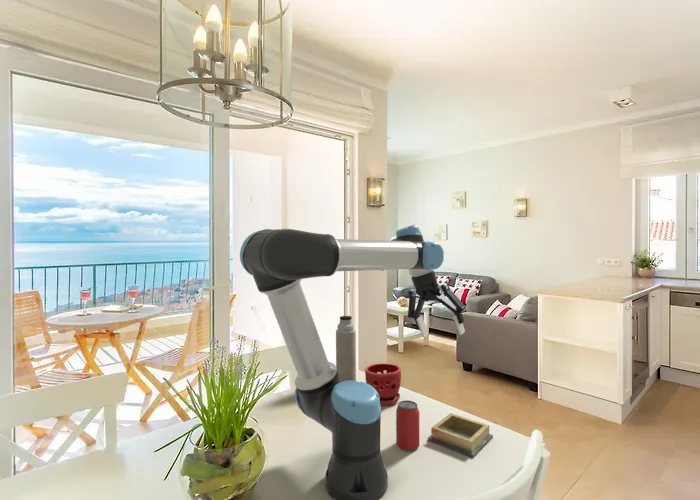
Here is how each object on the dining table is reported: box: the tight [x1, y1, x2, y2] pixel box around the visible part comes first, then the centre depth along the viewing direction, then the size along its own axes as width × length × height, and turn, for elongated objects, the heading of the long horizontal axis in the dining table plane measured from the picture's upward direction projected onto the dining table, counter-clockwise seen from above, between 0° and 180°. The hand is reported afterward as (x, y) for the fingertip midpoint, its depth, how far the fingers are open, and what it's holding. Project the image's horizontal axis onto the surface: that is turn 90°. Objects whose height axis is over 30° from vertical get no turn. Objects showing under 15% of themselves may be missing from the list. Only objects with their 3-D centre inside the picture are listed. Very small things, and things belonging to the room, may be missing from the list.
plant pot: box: [364, 362, 402, 406], centre depth 144 cm, size 13×13×12 cm
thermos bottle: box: [335, 315, 357, 382], centre depth 158 cm, size 8×8×28 cm
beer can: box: [395, 400, 420, 452], centre depth 112 cm, size 7×7×12 cm
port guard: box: [427, 413, 494, 459], centre depth 115 cm, size 14×14×4 cm
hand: (443, 334), depth 126 cm, fingers open, 13 cm apart
